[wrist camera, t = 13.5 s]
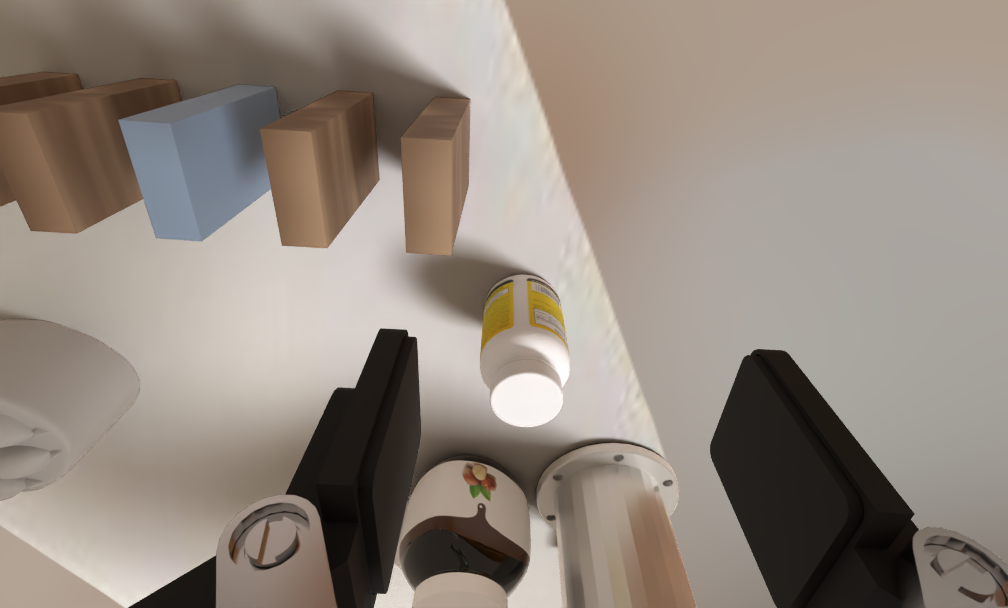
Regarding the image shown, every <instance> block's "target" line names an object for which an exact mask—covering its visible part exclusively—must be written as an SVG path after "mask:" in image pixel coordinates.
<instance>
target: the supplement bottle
mask: <svg viewBox="0 0 1008 608" xmlns="http://www.w3.org/2000/svg"><path fill="white" fill-rule="evenodd" d="M480 370H481V375H482V378H483V380H484V383H485V384H486V386H487V387H488V388H489V389H490V404H491V407H492V410H493V411H494V413H495V414H496V415H497V416H498V417H499V418H500V419H501V420H503V421H504V422H506V423H508V424H511V425H514V426H519V427H534V426H538V425H541V424H544V423H546V422H548V421H550V420H551V419H553V418H554V417H555V416H556V415H557V414H558V412H559V411H560V409H561V406H562V403H563V392H562V387H563V386H564V384H565V383H566V381H567V379H568V376H569V372H570V356H569V350H568V344H567V338H566V332H565V327H564V320H563V314H562V309H561V304H560V300H559V297H558V295H557V293H556V291H555V290H554V288H553V287H552V286H551V285H550V284H549V283H547V282H546V281H544V280H543V279H541V278H539V277H536V276H532V275H514V276H510V277H507V278H505V279H503V280H501V281H500V282H498V283H497V284H496V285H495V286H493V288H492V289H491V290H490V292H489V293H488V295H487V297H486V300H485V305H484V314H483V329H482V341H481V354H480Z"/></svg>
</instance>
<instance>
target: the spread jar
mask: <svg viewBox="0 0 1008 608" xmlns="http://www.w3.org/2000/svg"><path fill="white" fill-rule="evenodd" d="M530 551H531V538H530V515H529V508H528V503H527V500H526V497H525V495H524V493H523V491H522V489H521V487H520V486H519V485H518V483H517V482H516V481H515V479H514V478H513V477H512V476H511V475H510V474H509V473H508V472H507V471H506V470H505V469H504V468H503V467H501V466H500V465H498V464H497V463H495V462H493V461H491V460H489V459H486V458H482V457H477V456H457V457H452V458H449V459H446V460H444V461H442V462H440V463H438V464H437V465H435V466H434V467H432V468H431V469H430V470H429V471H428V472H427V473H426V474H425V475H424V476H423V477H422V478H421V479H420V481H419V482H418V483H417V485H416V487H415V489H414V491H413V493H412V495H411V497H410V500H409V502H408V501H407V504H406V509H405V514H404V518H403V523H402V528H401V532H400V537H399V542H398V546H397V551H396V555H395V560H394V563H395V564H396V565H397V566H398V567H399V568H400V569H402V571H403V574H404V576H405V578H406V580H407V582H408V583H409V585H410V586H411V588H412V589H413V591H414V592H415V593H414V599H413V605H412V608H507V601H508V600H507V598H508V597H509V596H510V595H511V594H512V593H513V592H514V591H515V589H516V588H517V587H518V585H519V584H520V583H521V581H522V579H523V578H524V576H525V574H526V572H527V569H528V565H529V561H530Z"/></svg>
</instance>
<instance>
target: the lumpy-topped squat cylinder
mask: <svg viewBox="0 0 1008 608" xmlns="http://www.w3.org/2000/svg"><path fill="white" fill-rule="evenodd" d="M139 390H140V380H139V377H138V374H137V373H136V371H135V369H134V368H133V366H132V365H131V364H130V363H129V362H128V361H127V360H126V359H125V358H124V357H123V356H121V355H120V354H119V353H117V352H116V351H115V350H113V349H112V348H110V347H109V346H107V345H105V344H104V343H102V342H100V341H99V340H97V339H95V338H93V337H91V336H88V335H86V334H83V333H81V332H78V331H76V330H73V329H70V328H68V327H65V326H62V325H59V324H56V323H52V322H49V321H43V320H29V319H6V320H0V501H2V500H6V499H9V498H11V497H13V496H15V495H17V494H18V493H20V492H22V491H32V490H38V489H41V488H43V487H45V486H47V485H49V484H51V483H53V482H55V481H56V480H58V479H59V478H61V477H62V476H64V475H65V474H66V473H67V472H68V471H69V470H70V469H71V468H72V467H73V466H74V465H75V464H76V463H77V462H78V461H79V460H80V459H81V458H82V457H83V456H84V455H85V454H86V453H87V452H88V451H89V450H90V449H91V448H92V447H93V445H94V444H95V443H96V442H97V441H98V440H99V439H100V438H101V437H102V436H103V435H104V434H105V433H106V432H107V431H108V430H109V429H110V428H111V427H112V426H113V425H114V423H115V422H116V421H117V420H118V419H119V418H120V417H121V416H122V415H123V414H124V413H125V412H126V411H127V410H128V409H129V408H130V407H131V406H132V405H133V403H134V402H135V400H136V398H137V396H138V394H139Z"/></svg>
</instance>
